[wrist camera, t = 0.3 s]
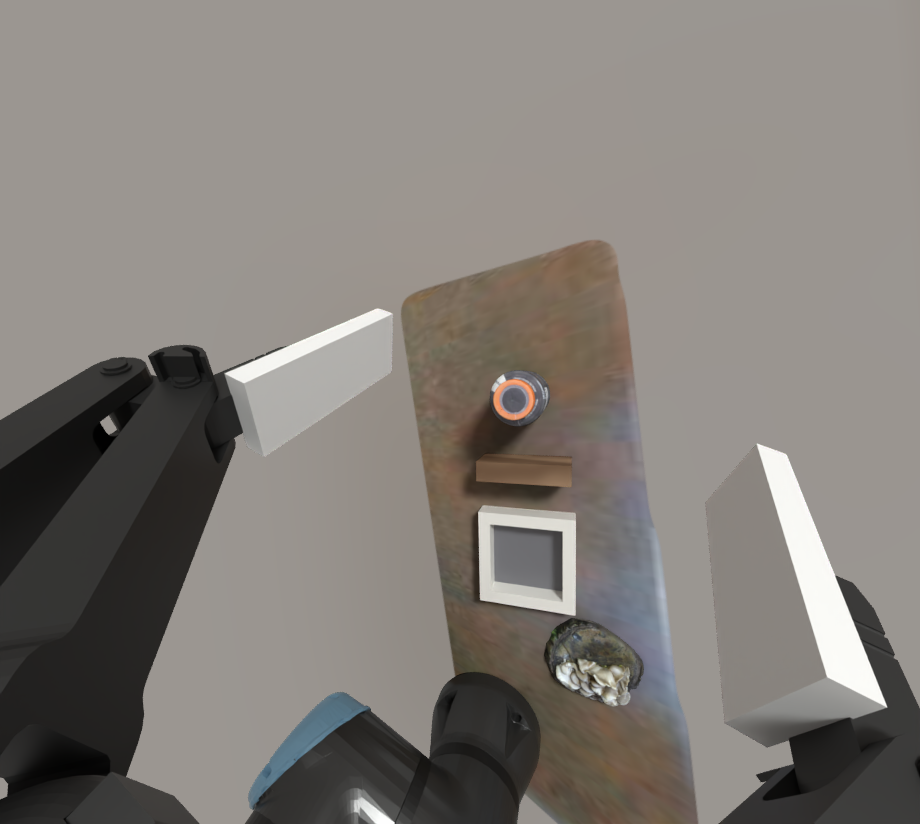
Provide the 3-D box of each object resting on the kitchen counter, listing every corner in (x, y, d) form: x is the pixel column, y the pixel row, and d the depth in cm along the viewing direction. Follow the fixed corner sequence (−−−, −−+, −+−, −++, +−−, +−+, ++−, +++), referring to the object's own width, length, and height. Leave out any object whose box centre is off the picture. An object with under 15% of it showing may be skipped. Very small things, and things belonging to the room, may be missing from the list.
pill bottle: (494, 387, 46) (471, 390, 35) (533, 362, 44) (521, 356, 34) (519, 426, 46) (503, 441, 35) (559, 401, 44) (556, 409, 33)
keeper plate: (575, 603, 46) (575, 615, 43) (484, 589, 49) (480, 599, 47) (575, 513, 45) (575, 520, 42) (482, 505, 48) (478, 511, 46)
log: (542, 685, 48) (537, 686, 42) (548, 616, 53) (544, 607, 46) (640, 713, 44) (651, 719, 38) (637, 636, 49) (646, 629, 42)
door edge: (571, 475, 44) (571, 487, 40) (485, 471, 48) (476, 481, 43) (571, 456, 44) (571, 466, 39) (485, 453, 47) (475, 461, 43)
